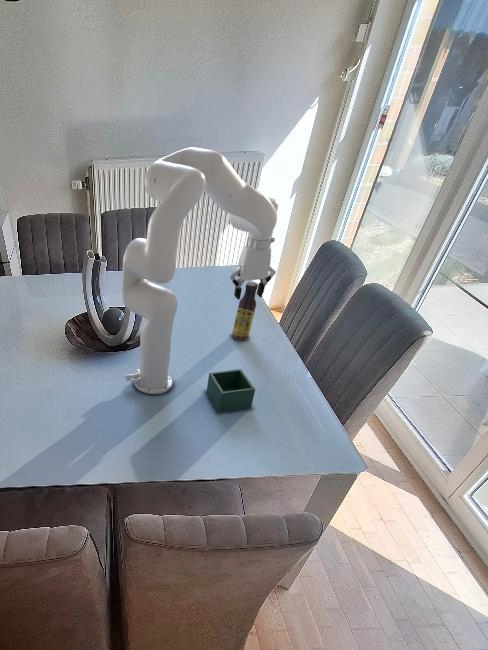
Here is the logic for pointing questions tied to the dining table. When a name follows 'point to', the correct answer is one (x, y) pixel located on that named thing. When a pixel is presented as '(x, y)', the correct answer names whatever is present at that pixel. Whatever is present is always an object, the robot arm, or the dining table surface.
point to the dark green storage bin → (230, 390)
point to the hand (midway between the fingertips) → (248, 296)
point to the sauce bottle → (245, 312)
